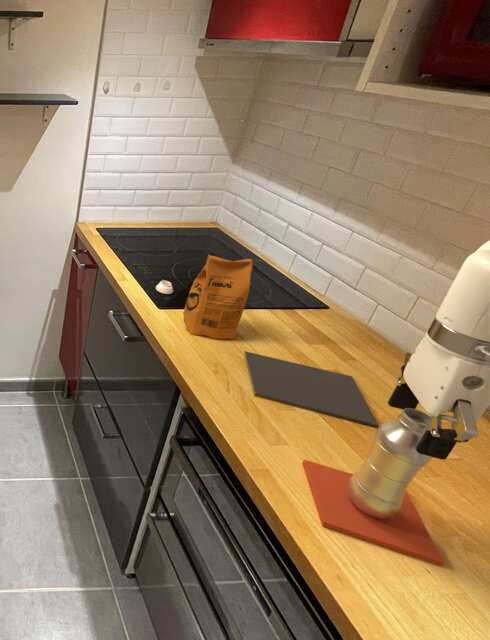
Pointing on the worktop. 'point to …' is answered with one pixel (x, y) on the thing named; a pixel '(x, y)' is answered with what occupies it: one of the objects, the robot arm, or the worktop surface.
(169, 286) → the white ridged tapered disc
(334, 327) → the worktop surface
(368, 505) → the plastic bottle
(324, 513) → the terracotta tile
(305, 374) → the slate board
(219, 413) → the worktop surface
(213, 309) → the coffee package
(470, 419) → the robot arm
